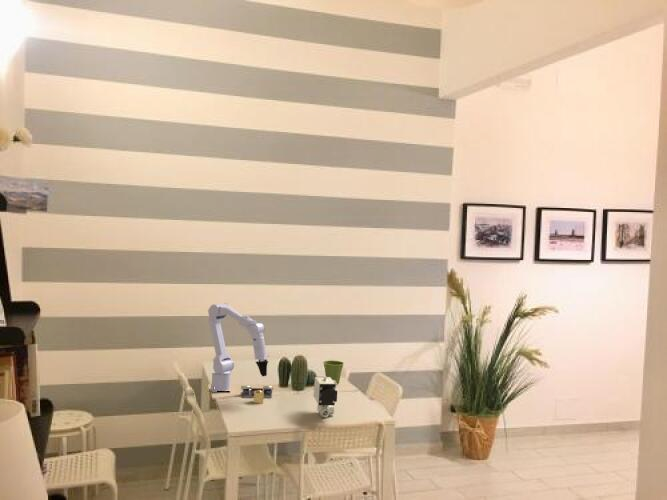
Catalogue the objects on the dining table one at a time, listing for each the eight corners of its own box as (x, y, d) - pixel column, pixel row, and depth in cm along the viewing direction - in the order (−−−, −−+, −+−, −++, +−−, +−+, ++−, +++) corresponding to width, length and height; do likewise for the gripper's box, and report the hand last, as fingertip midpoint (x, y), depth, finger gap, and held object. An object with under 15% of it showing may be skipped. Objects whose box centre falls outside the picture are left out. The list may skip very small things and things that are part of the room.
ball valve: (337, 421, 269) (339, 381, 268) (318, 421, 267) (321, 381, 267) (329, 409, 287) (331, 371, 286) (312, 409, 285) (314, 371, 284)
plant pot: (343, 380, 341) (345, 361, 341) (342, 386, 329) (343, 365, 329) (323, 379, 342) (324, 359, 342) (320, 384, 330) (321, 364, 330)
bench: (241, 397, 297) (241, 388, 297) (240, 392, 307) (240, 383, 306) (273, 397, 300) (274, 388, 300) (272, 392, 310) (272, 383, 309)
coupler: (253, 403, 289) (254, 391, 289) (253, 401, 293) (254, 389, 293) (263, 403, 290) (263, 391, 290) (262, 401, 294) (263, 389, 294)
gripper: (268, 346, 289) (273, 375, 288) (266, 345, 303) (270, 372, 302) (254, 349, 288) (258, 377, 286) (252, 348, 302) (256, 375, 301)
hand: (263, 375), depth 294 cm, fingers open, 7 cm apart
